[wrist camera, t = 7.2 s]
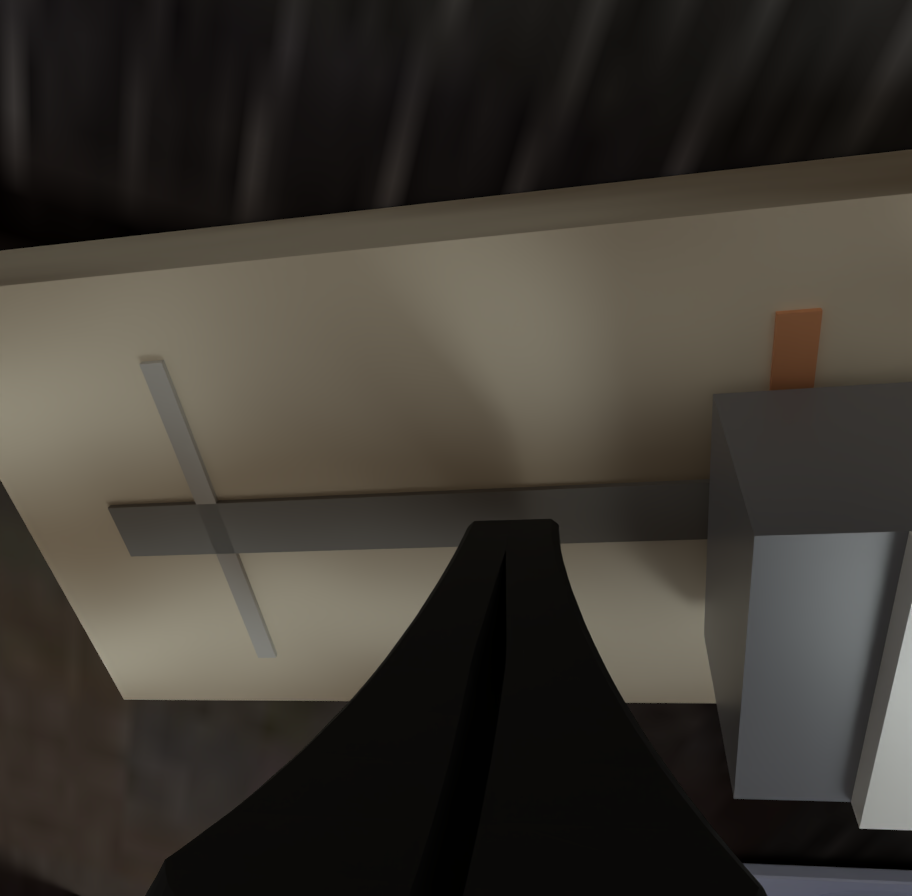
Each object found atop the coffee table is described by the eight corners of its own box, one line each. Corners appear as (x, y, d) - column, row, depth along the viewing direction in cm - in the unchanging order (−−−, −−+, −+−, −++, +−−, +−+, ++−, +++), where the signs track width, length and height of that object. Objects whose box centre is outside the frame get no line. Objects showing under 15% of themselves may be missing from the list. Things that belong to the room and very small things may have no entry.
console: (1046, 625, 16) (1102, 709, 15) (161, 634, 20) (122, 703, 18) (1234, 113, 11) (1359, 150, 9) (-26, 253, 15) (-107, 298, 13)
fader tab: (947, 632, 13) (1052, 834, 10) (703, 634, 14) (738, 824, 11) (1018, 375, 11) (1186, 549, 8) (712, 393, 11) (761, 559, 9)
